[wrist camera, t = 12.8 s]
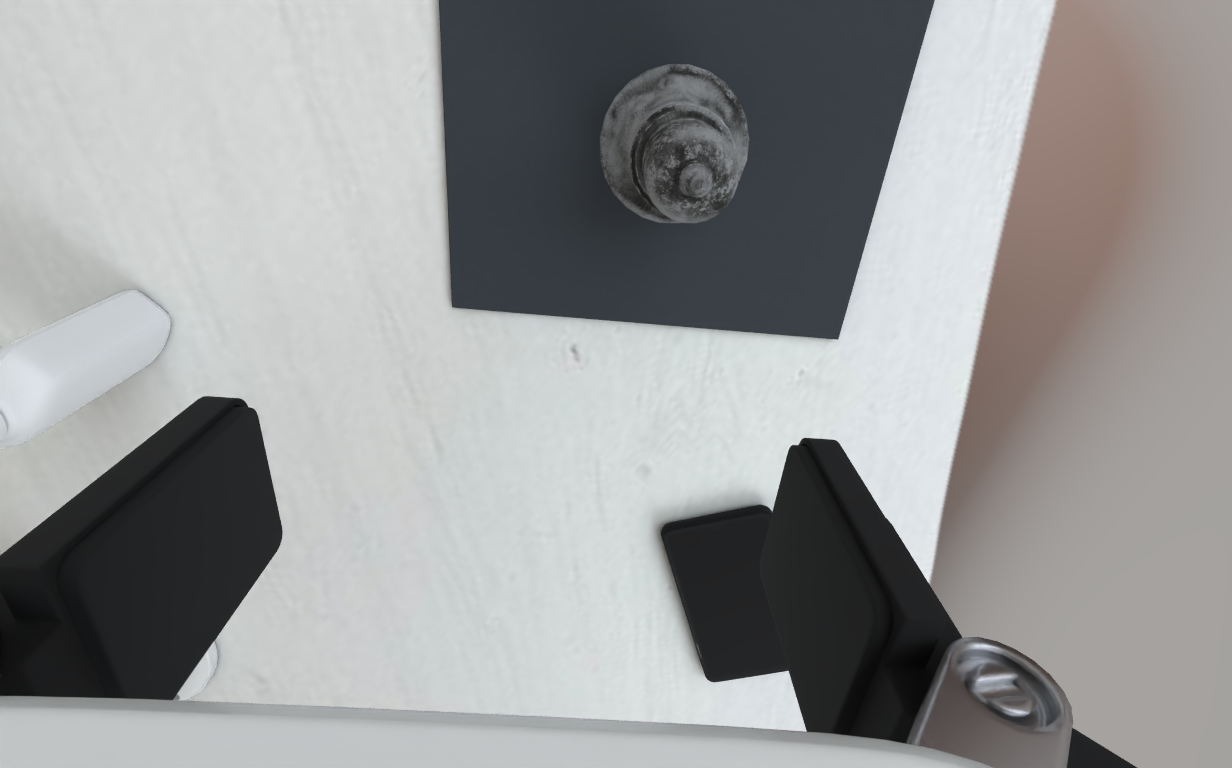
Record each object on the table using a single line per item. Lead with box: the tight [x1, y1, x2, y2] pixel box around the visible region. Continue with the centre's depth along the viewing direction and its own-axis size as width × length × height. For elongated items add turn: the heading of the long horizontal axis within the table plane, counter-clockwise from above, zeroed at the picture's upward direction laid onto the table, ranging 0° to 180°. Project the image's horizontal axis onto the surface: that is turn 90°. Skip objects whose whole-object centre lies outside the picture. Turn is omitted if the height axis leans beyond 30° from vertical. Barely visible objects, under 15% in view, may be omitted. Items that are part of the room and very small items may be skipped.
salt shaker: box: [600, 64, 749, 223], centre depth 21 cm, size 6×6×12 cm
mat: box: [439, 0, 934, 339], centre depth 27 cm, size 20×18×1 cm
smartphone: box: [661, 505, 789, 682], centre depth 40 cm, size 7×1×15 cm
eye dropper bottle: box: [0, 290, 171, 449], centre depth 26 cm, size 4×6×12 cm
